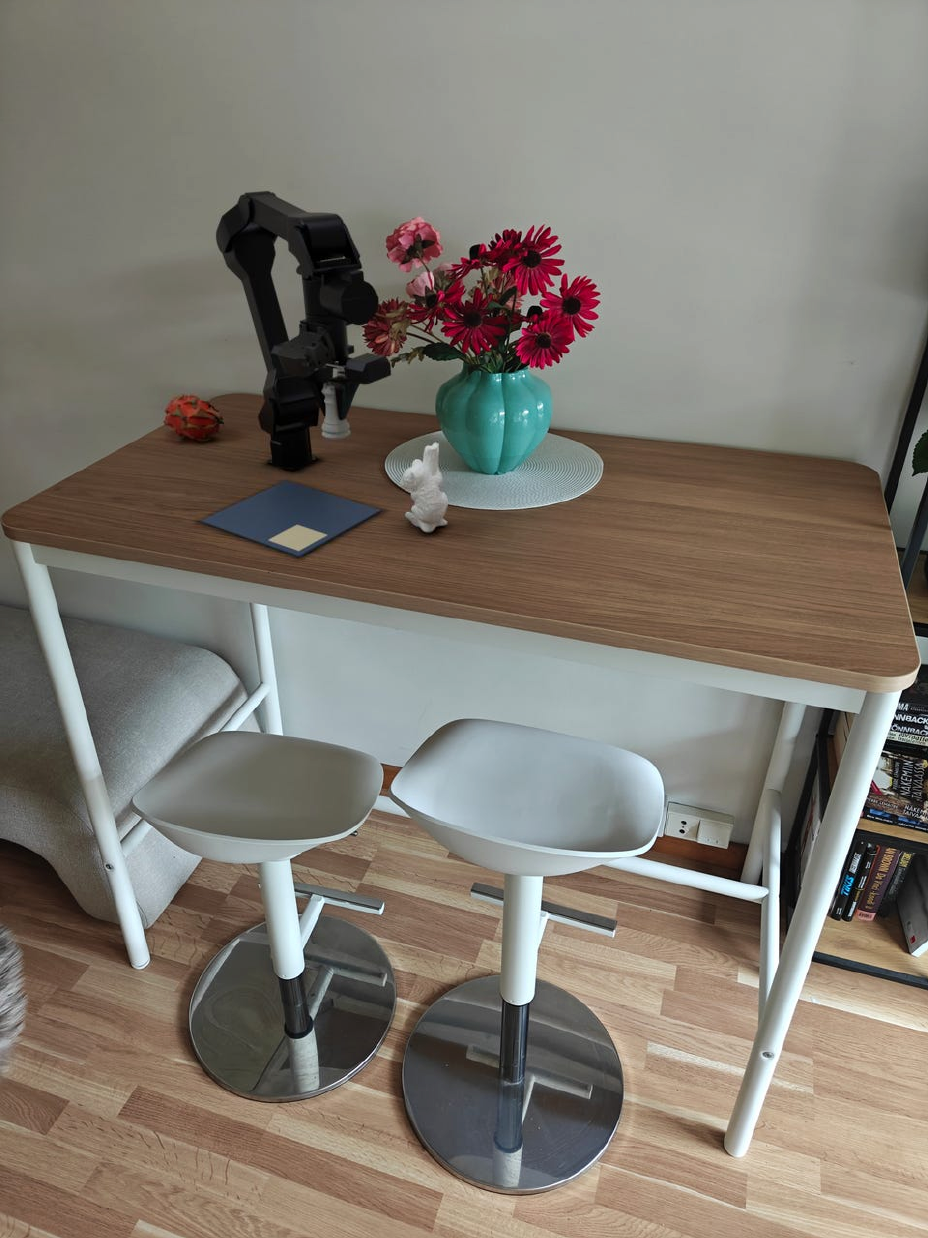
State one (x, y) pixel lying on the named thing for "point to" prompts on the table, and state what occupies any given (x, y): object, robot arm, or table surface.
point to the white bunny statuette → (426, 491)
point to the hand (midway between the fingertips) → (334, 417)
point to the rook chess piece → (333, 417)
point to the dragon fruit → (192, 417)
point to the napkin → (291, 518)
